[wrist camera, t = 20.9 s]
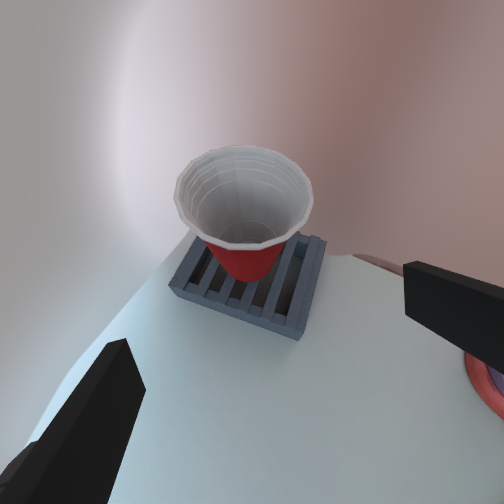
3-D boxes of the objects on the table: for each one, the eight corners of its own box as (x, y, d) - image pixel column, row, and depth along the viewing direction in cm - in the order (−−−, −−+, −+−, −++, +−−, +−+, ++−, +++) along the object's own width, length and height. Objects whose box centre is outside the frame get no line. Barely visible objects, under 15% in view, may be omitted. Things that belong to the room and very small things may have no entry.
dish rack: (177, 296, 31) (166, 283, 28) (216, 225, 37) (211, 207, 33) (298, 341, 28) (304, 333, 24) (321, 255, 33) (327, 239, 30)
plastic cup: (291, 313, 25) (312, 256, 15) (193, 296, 27) (150, 233, 16) (300, 230, 31) (319, 146, 20) (218, 219, 32) (197, 136, 22)
